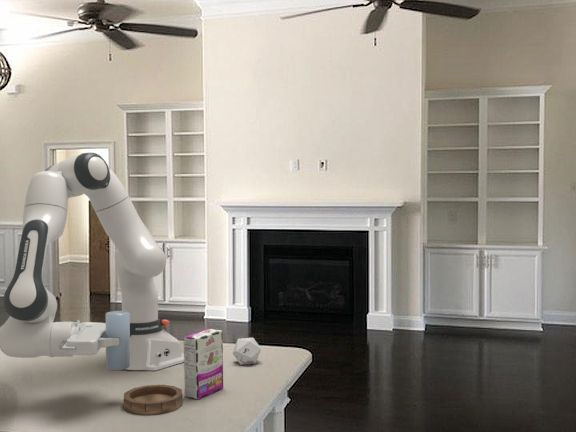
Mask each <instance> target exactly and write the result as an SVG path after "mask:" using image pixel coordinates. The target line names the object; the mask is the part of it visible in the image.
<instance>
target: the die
mask: <svg viewBox="0 0 576 432" xmlns="http://www.w3.org/2000/svg"><path fill="white" fill-rule="evenodd" d="M255 339H256V338H254V337H246V338H245V337H244V338H237V340H236V342H235V346H234V348H233V351H232V355H233V356H234V358H235V360H237V362H238V364H239V365H240V366H243V365H244V364H245V365H253V364H257V361H258V359H259V356H260V353H261V351H262V347H260V345H259V343H258V342H257V341H256V340H255Z"/></svg>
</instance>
